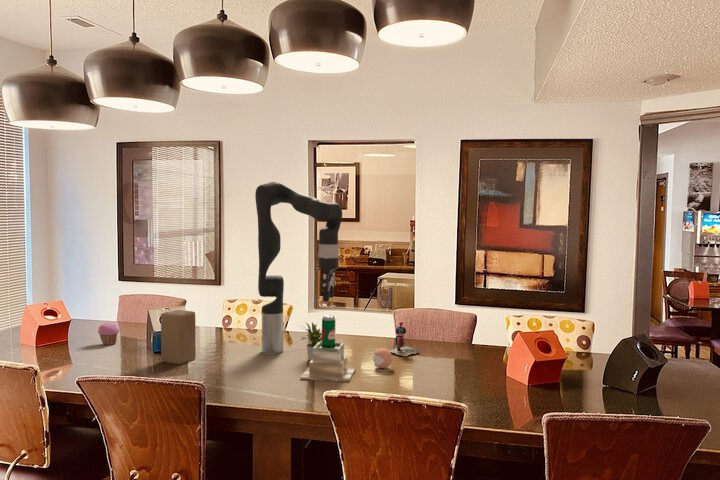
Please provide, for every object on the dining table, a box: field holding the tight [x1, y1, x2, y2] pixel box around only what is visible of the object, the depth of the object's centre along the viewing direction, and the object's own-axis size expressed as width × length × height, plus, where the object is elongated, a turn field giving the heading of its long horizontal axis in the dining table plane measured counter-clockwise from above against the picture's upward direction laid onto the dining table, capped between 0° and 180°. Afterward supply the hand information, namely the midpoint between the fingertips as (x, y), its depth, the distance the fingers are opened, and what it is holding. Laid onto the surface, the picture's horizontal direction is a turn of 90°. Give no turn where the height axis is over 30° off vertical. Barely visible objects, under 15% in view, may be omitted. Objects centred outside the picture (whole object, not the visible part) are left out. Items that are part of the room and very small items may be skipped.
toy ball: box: [372, 347, 393, 369], centre depth 218 cm, size 8×8×8 cm
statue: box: [389, 320, 421, 356], centre depth 241 cm, size 11×9×15 cm
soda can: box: [321, 315, 336, 348], centre depth 209 cm, size 5×5×12 cm
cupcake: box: [97, 322, 120, 346], centre depth 254 cm, size 9×9×10 cm
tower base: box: [300, 341, 356, 382], centre depth 209 cm, size 15×18×11 cm
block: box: [160, 309, 197, 365], centre depth 227 cm, size 10×10×20 cm
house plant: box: [296, 321, 322, 361], centre depth 230 cm, size 14×14×16 cm
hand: (328, 299), depth 209 cm, fingers open, 8 cm apart
